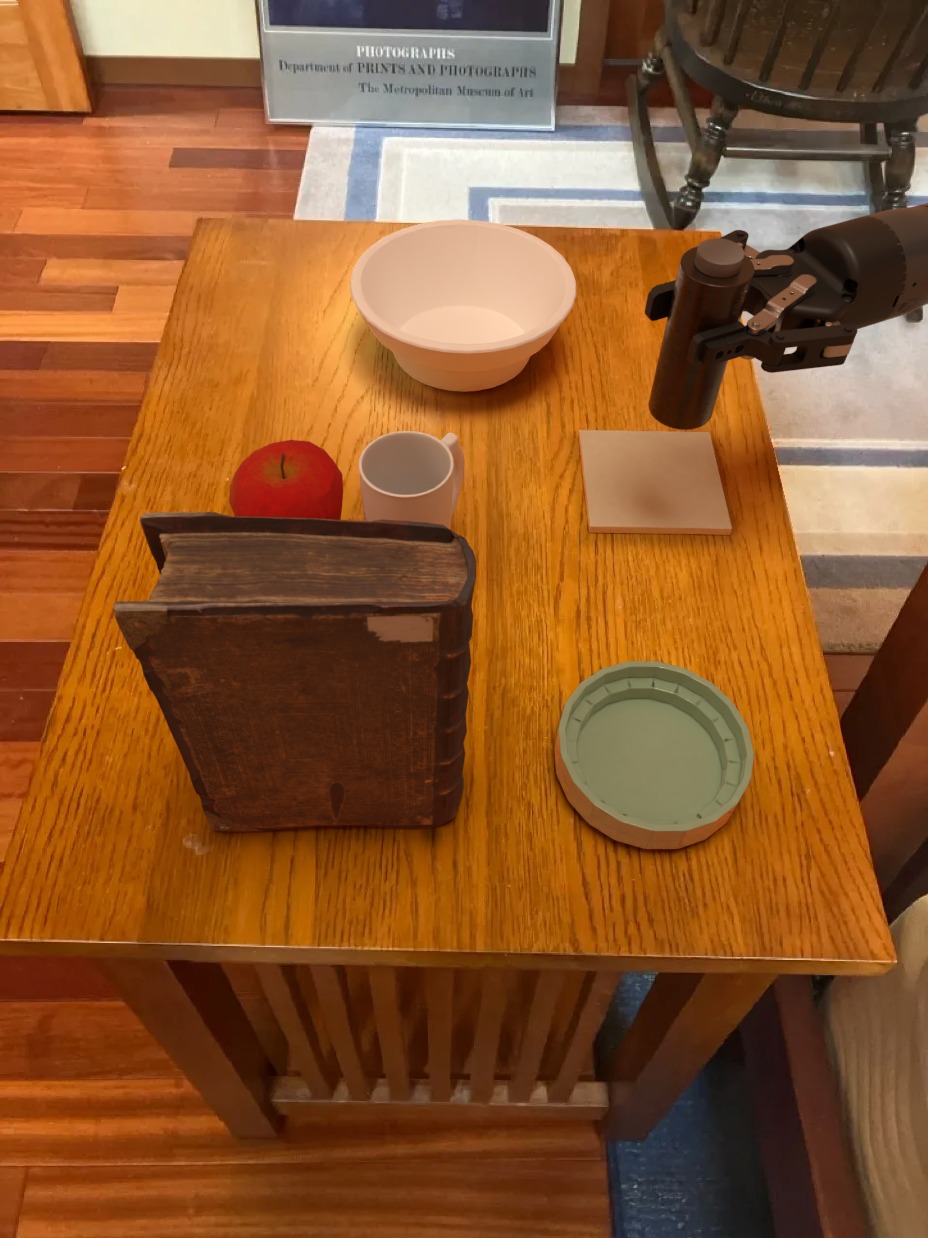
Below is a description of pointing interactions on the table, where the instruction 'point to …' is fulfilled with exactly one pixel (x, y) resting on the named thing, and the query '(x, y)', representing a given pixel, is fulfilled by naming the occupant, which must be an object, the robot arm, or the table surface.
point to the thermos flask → (698, 331)
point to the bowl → (462, 300)
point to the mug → (411, 477)
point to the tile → (652, 483)
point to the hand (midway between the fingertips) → (671, 328)
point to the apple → (288, 483)
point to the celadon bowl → (652, 754)
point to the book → (310, 666)
